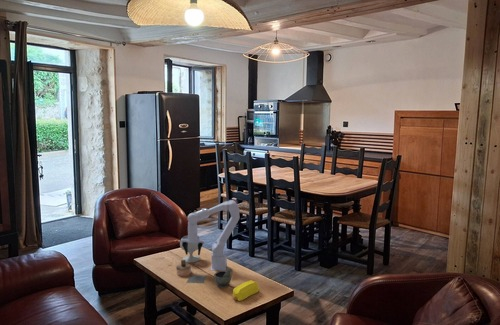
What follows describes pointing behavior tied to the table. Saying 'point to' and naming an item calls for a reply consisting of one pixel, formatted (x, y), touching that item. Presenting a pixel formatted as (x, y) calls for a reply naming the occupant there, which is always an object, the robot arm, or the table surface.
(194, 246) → the chalice
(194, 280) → the mat
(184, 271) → the bowl
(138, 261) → the table surface
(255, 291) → the yellow rounded block
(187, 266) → the lid
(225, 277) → the mortar and pestle
